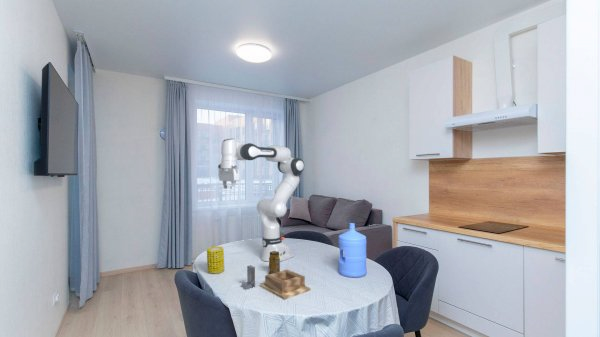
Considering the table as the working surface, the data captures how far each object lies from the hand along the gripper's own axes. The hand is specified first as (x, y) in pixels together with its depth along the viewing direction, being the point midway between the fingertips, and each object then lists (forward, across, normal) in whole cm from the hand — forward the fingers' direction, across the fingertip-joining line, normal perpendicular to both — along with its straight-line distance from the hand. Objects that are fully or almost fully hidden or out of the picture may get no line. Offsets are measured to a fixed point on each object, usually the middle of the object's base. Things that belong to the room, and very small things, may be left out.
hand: (228, 188), depth 173 cm
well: (+48, -45, -8) cm, 66 cm away
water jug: (+48, -52, -50) cm, 87 cm away
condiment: (+48, -25, -16) cm, 56 cm away
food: (+48, 0, +8) cm, 49 cm away
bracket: (+48, -32, +5) cm, 57 cm away
